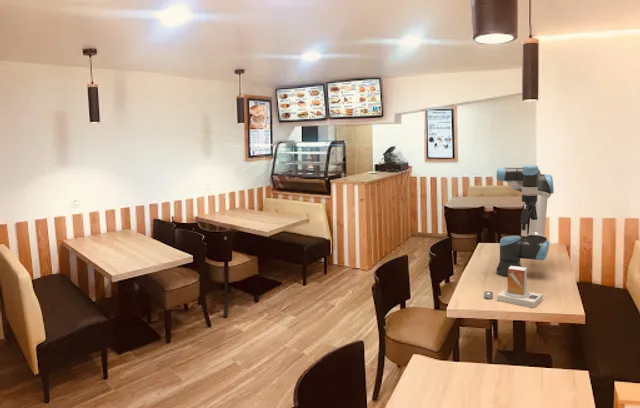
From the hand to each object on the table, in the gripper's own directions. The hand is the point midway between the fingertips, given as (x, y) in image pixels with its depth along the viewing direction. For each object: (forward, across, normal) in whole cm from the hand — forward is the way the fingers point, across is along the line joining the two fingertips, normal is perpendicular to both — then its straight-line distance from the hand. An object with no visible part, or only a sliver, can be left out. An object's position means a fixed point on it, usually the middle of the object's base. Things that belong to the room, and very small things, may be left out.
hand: (528, 233), depth 244 cm
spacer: (+32, +23, -12) cm, 41 cm away
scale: (+32, +17, +2) cm, 36 cm away
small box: (+28, +17, 0) cm, 33 cm away
